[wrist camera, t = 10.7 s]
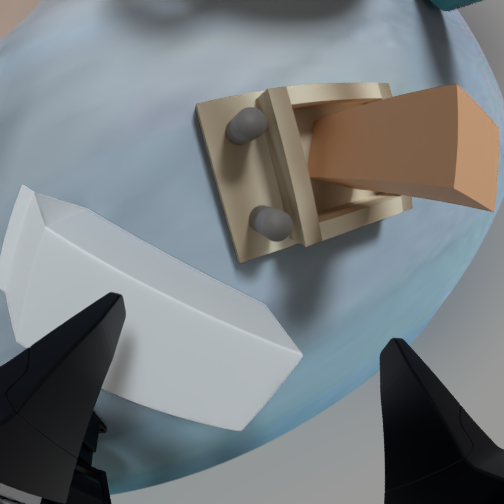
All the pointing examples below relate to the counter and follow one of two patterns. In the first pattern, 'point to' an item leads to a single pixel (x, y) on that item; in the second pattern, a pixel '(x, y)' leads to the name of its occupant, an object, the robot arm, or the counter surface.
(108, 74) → the counter surface
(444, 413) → the robot arm
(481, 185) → the block
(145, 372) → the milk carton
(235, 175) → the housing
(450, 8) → the beverage bottle
